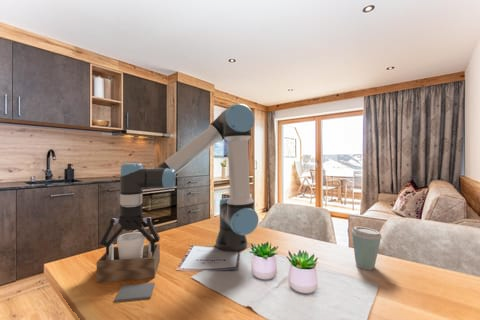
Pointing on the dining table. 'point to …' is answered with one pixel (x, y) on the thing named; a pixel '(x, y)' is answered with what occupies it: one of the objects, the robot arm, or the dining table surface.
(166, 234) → the dining table surface
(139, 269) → the crate
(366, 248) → the disposable coffee cup
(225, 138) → the robot arm
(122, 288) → the mat
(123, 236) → the foam cup
